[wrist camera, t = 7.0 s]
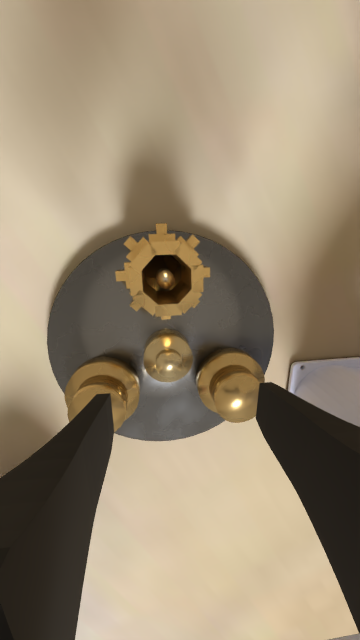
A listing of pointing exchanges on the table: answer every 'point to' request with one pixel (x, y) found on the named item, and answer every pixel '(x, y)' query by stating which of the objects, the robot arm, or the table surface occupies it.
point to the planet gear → (185, 289)
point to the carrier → (162, 344)
